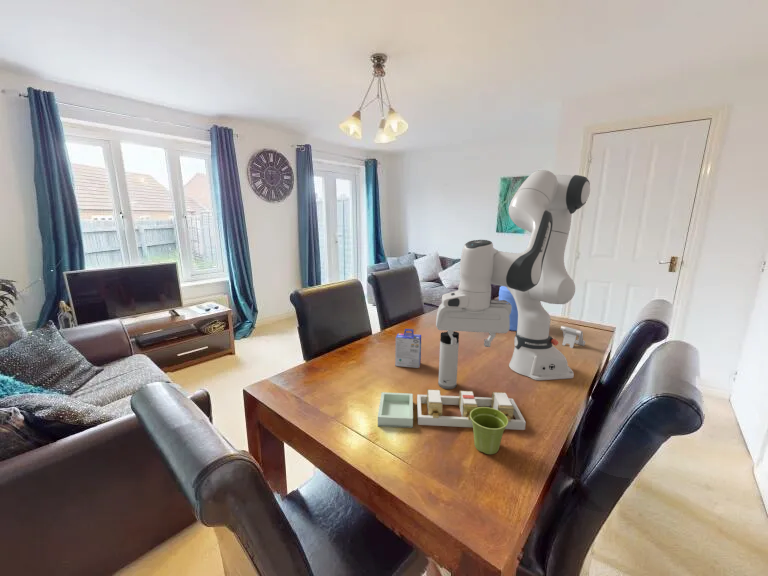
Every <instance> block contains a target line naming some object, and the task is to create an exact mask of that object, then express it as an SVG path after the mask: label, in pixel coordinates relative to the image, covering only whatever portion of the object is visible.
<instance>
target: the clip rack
mask: <svg viewBox="0 0 768 576" xmlns="http://www.w3.org/2000/svg"><path fill="white" fill-rule="evenodd" d="M416 396H417V397H416V405H417V406H416V408H417V409H416V410H417V413H416V414H417V425H418V426H436V427H437V426H438V427H441V426H442V427H454V428H455V427H457V428H458V427H459V428H473V424H472V421H471V419H470V415H468V417H462V416H452V415H451V416H447V415H446V416H445V415H442V416H439V415H438V413H433V416H430V415H428V414H427V415H424V414H422V404H425V405H427V394H417V395H416ZM440 396H441V402H442V405H450V406H453V405H454V406H459V395H457V396H456V395H440ZM474 398H475V401H476V404H477V406H478V407H489V408H491V403H492V397H485V396H484V397H483V396H482V397H481V396H474ZM508 398H509V397H508ZM509 400H510V402H511V404H512V406H513V408H514V411H513V417H514V418H515V419H514V418H513V419H510V417H508V416H506V417H507V418H508V425H507V426H506V427H505V430H515V431H516V430H517V431H519V430H520V431H524V430H526V420H525V418H524V416H523V414H522V413H521V411H520V409H519V408H518V405H517V403H516V402H515V400H514V398H509Z"/></svg>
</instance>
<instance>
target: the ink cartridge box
mask: <svg viewBox="0 0 768 576" xmlns="http://www.w3.org/2000/svg"><path fill="white" fill-rule="evenodd" d="M414 330H415V329H412V328H411V329H410V328H405V329H404V333H397V334H396V336H395V347H394V348H395V351H394V352H395V355H394V356H395V363H394V364H395V365H394V366H395V367H403V368H404V367H405V368H414V369H415V368H416V369H419V368H420V366H421V364H422V363H421V362H422V361H421V360H422V334H418V333H417V334H415V333H414V332H415V331H414Z"/></svg>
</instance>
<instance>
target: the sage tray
mask: <svg viewBox="0 0 768 576" xmlns="http://www.w3.org/2000/svg"><path fill="white" fill-rule="evenodd" d="M413 396H414V394H413V393H407V392H404V393H403V392H386V391H385V392H380V399H379V400H380V401H379V405H378V406H379V408H378V412H377V413H378V414H377V427H384V428H385V427H389V428H404V429H405V428H406V429H407V428H409V429H412V428H414V427H413V426H414V425H413V424H414V410H413V409H414V404H413V403H414V401H413Z"/></svg>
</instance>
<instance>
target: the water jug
mask: <svg viewBox="0 0 768 576" xmlns="http://www.w3.org/2000/svg"><path fill="white" fill-rule="evenodd" d="M498 300H506V301H507V302H509V303H510V304H511V306H512V309H511V313H510V315H509V318H510V329H509V331H515V332H516V331H517V326H518V310H517V306H516V302H515V300H514V297H513V295H512V294H511V292H510V291H509V290H508V289H507V287H504V286H499V291H498ZM507 304H508V303H507Z"/></svg>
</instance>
